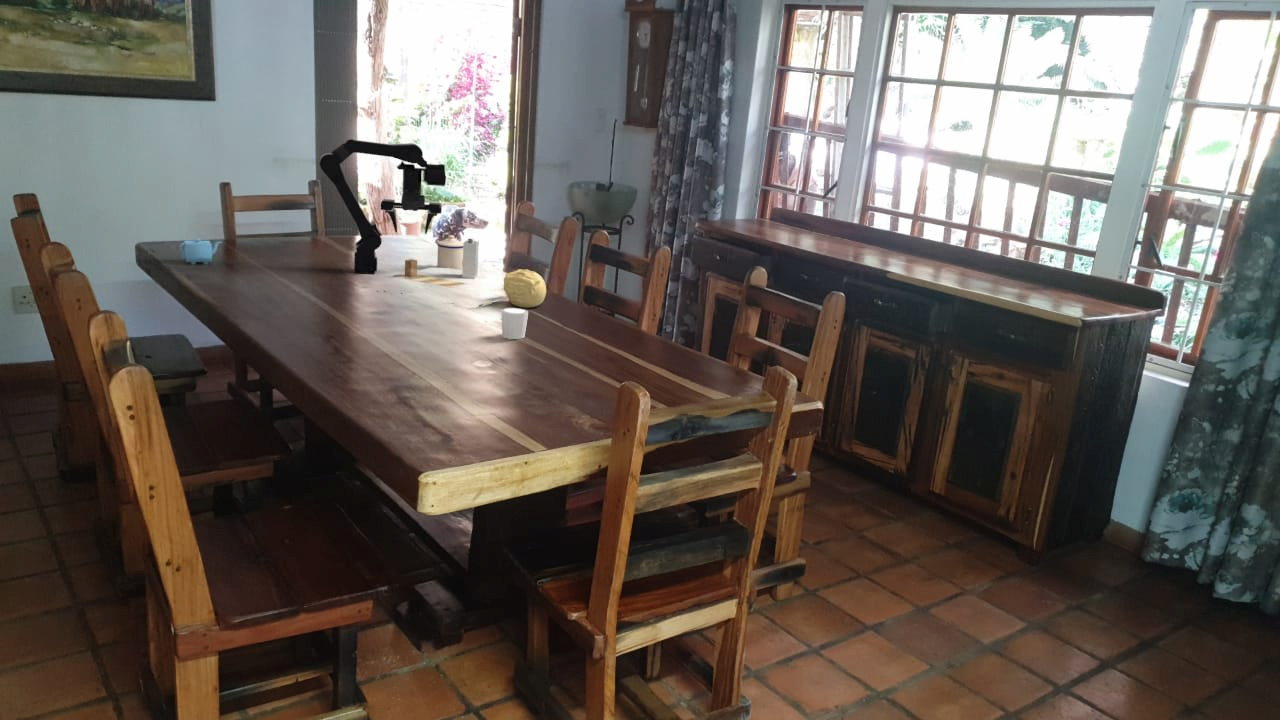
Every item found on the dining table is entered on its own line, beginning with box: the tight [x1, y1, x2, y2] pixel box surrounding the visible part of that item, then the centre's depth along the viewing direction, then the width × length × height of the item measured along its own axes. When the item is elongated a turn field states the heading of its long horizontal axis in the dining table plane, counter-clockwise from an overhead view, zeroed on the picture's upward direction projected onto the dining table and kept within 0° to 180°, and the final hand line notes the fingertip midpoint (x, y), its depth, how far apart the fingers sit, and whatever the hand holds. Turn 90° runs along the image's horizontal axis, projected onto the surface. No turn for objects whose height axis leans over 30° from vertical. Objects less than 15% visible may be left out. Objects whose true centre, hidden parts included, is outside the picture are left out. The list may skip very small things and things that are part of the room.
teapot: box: [179, 238, 222, 265], centre depth 288 cm, size 12×6×8 cm, turn 121°
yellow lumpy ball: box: [503, 268, 547, 309], centre depth 272 cm, size 11×12×11 cm
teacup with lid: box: [437, 234, 464, 271], centre depth 312 cm, size 12×9×12 cm
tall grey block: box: [461, 238, 480, 280], centre depth 296 cm, size 4×5×13 cm
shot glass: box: [500, 307, 529, 340], centre depth 237 cm, size 7×7×7 cm
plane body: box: [396, 258, 468, 289], centre depth 287 cm, size 21×8×6 cm, turn 66°
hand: (411, 233), depth 298 cm, fingers open, 9 cm apart
